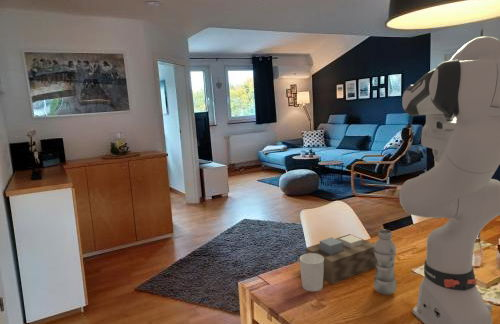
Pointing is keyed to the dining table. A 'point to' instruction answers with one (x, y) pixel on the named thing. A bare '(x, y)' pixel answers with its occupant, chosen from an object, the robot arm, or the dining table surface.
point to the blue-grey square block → (331, 246)
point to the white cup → (312, 271)
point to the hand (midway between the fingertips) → (438, 162)
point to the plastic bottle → (385, 263)
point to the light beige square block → (351, 241)
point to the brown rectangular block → (346, 261)
